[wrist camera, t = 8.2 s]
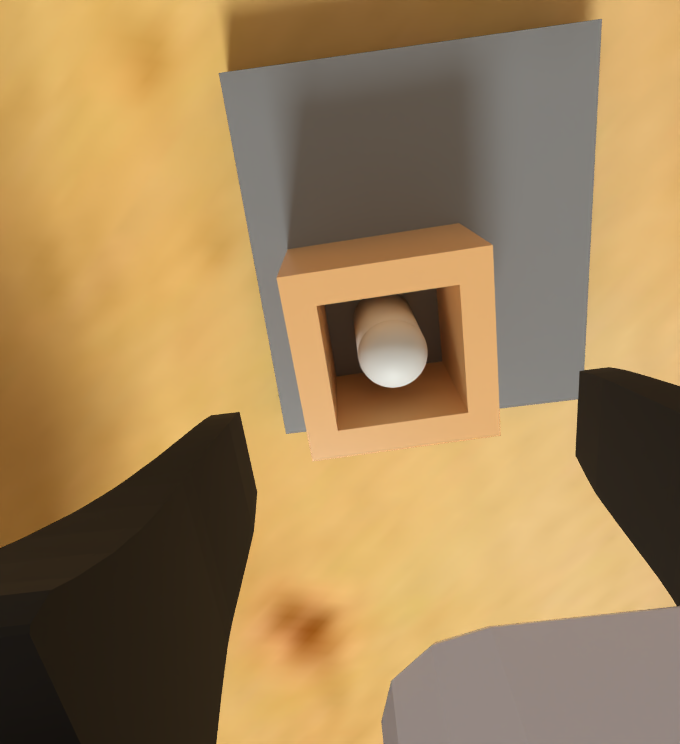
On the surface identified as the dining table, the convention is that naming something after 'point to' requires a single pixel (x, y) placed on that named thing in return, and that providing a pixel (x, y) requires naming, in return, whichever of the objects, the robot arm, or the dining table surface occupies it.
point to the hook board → (430, 192)
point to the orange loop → (437, 380)
